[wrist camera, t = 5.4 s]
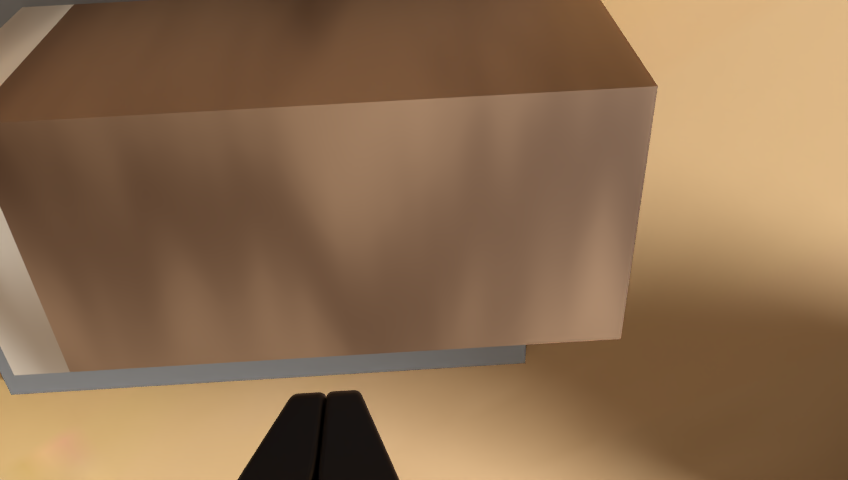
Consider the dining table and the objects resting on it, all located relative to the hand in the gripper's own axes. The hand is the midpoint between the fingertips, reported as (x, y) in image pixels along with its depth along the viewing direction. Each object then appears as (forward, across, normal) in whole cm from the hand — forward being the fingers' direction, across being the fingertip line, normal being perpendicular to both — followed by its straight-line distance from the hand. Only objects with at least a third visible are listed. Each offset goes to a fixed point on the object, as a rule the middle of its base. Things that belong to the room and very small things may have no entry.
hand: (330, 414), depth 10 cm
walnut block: (+6, -5, 0) cm, 8 cm away
